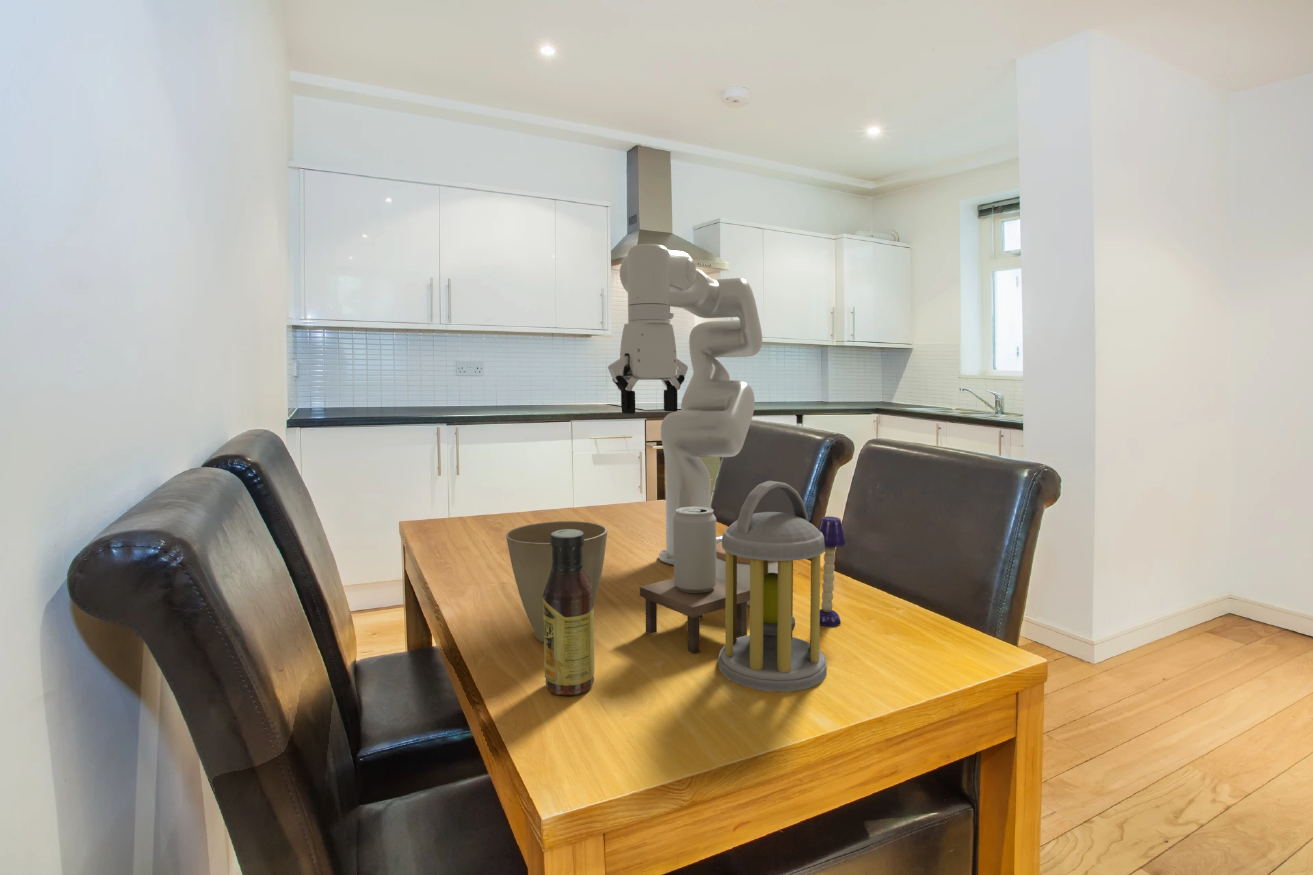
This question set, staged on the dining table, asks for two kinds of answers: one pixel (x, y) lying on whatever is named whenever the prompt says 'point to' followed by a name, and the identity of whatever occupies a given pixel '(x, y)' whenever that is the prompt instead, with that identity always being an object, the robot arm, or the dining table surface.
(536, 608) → the plant pot
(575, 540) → the sauce bottle
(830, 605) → the toy lamp
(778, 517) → the lantern
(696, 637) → the small brown table
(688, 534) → the beverage can
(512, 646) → the dining table surface
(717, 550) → the lidded bowl
